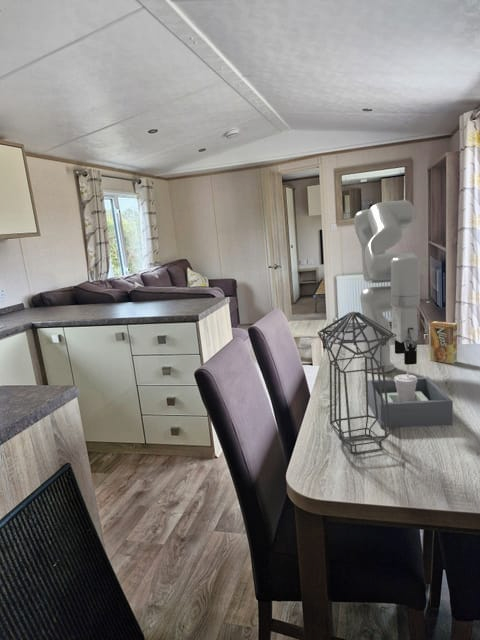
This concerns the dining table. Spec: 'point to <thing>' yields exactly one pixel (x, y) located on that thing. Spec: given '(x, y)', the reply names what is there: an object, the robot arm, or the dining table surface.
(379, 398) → the bin
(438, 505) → the dining table surface
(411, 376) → the smoothie
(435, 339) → the candy box
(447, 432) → the dining table surface
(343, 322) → the geometric lantern
